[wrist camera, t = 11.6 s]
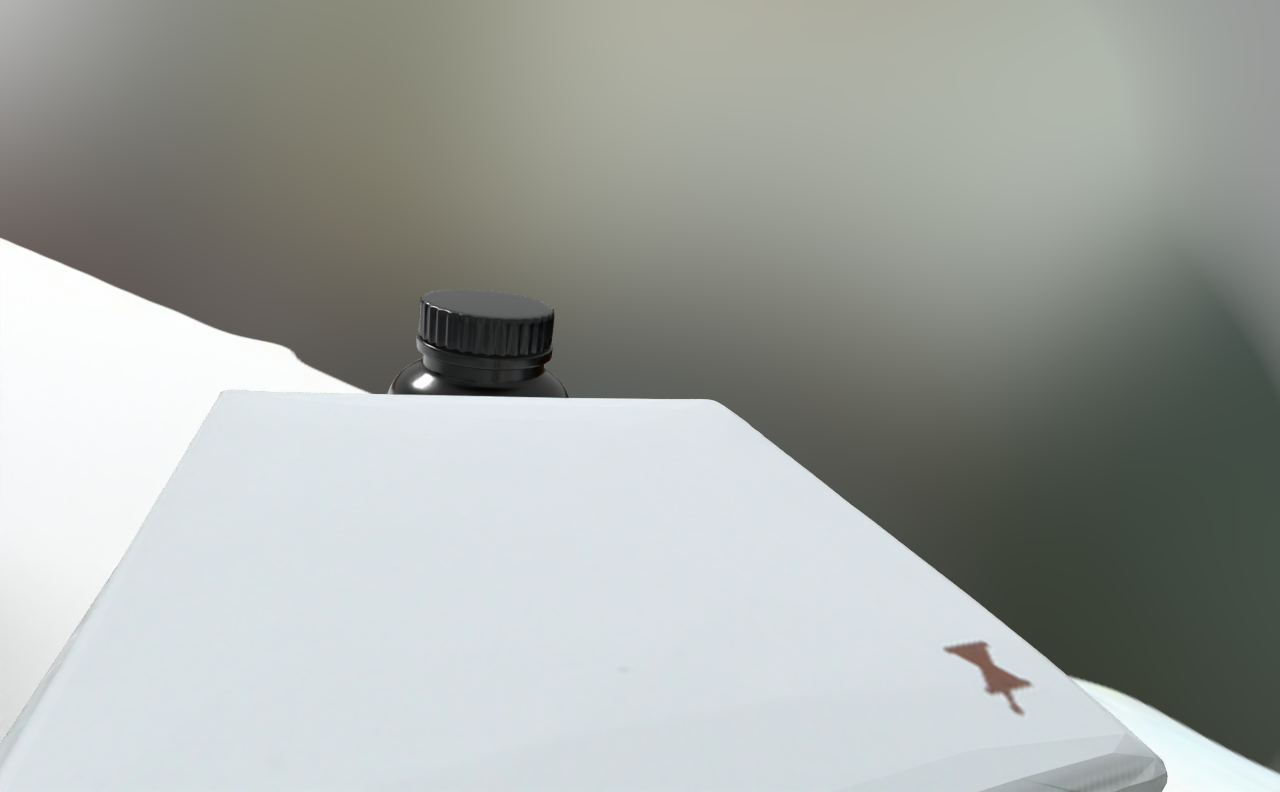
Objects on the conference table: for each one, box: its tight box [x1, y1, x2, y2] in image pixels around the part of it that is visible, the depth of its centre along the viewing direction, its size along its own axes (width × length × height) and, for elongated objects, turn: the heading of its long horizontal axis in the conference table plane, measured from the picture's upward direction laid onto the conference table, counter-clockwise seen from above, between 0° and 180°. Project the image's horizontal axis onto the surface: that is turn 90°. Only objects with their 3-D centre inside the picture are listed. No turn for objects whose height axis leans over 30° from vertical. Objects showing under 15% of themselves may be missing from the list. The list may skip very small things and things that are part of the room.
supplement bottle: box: [388, 289, 569, 398], centre depth 25 cm, size 7×7×12 cm
